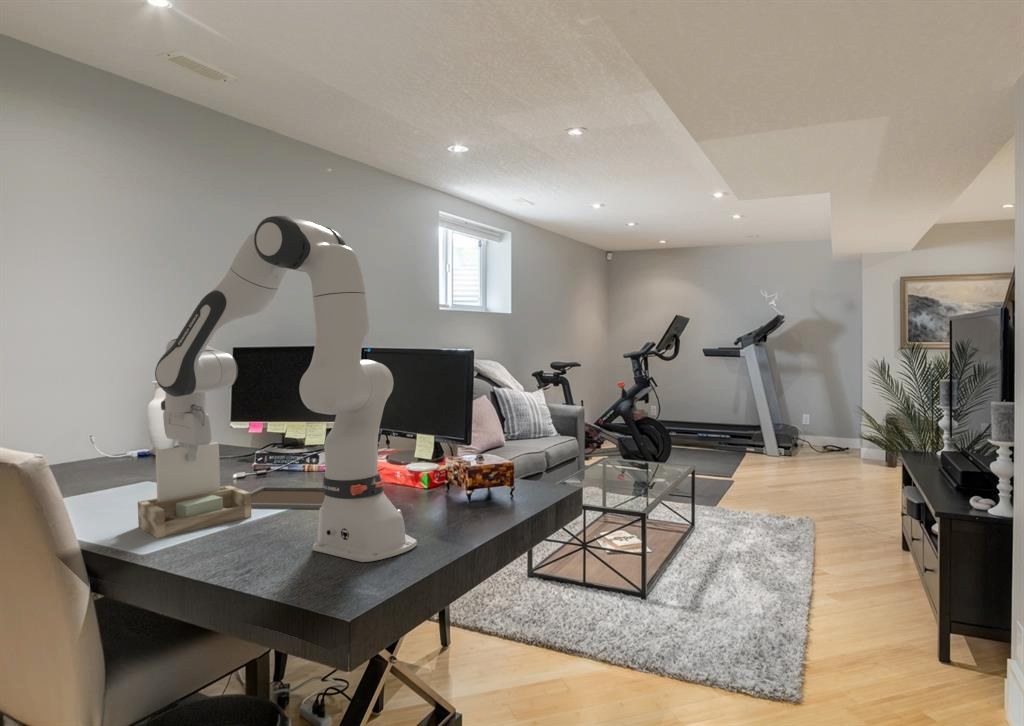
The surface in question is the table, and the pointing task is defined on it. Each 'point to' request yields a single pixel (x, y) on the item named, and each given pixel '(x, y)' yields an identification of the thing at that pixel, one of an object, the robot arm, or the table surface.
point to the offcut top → (199, 506)
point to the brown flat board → (287, 497)
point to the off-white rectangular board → (187, 472)
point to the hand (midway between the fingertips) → (188, 460)
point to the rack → (157, 514)
